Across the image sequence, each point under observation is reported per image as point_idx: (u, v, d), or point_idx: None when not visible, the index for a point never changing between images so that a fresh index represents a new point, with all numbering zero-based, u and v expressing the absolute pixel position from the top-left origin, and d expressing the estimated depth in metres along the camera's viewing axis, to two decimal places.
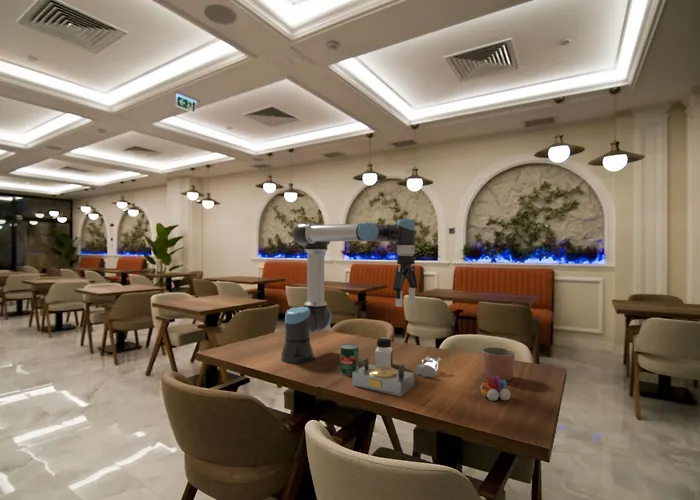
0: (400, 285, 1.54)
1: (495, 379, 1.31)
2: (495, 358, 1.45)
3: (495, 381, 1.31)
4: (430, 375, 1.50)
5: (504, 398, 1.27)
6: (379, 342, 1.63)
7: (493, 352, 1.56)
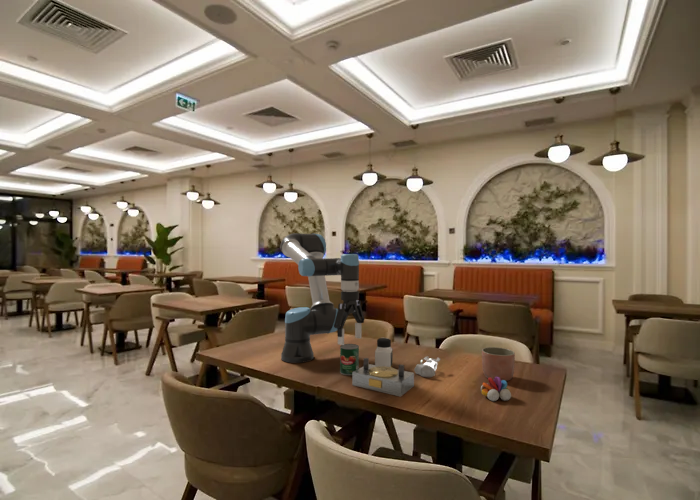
0: (342, 323, 1.50)
1: (495, 379, 1.31)
2: (495, 358, 1.45)
3: (495, 381, 1.31)
4: (429, 375, 1.50)
5: (504, 398, 1.27)
6: (379, 342, 1.63)
7: (493, 352, 1.56)
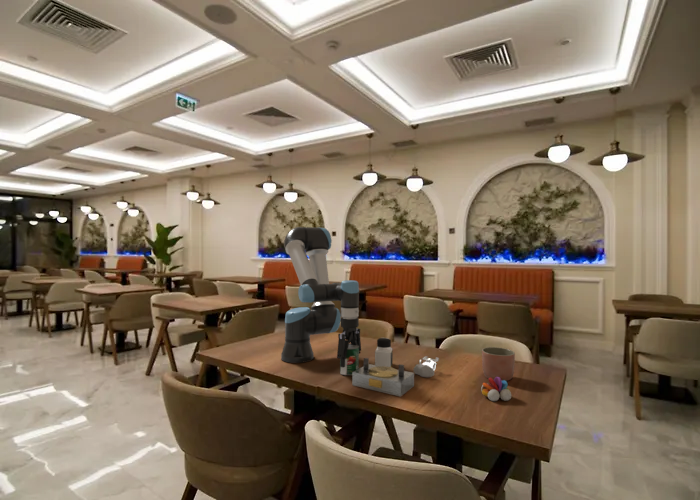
0: (344, 353, 1.51)
1: (496, 379, 1.31)
2: (495, 358, 1.45)
3: (496, 381, 1.31)
4: (428, 375, 1.50)
5: (505, 398, 1.27)
6: (379, 342, 1.63)
7: (493, 352, 1.56)
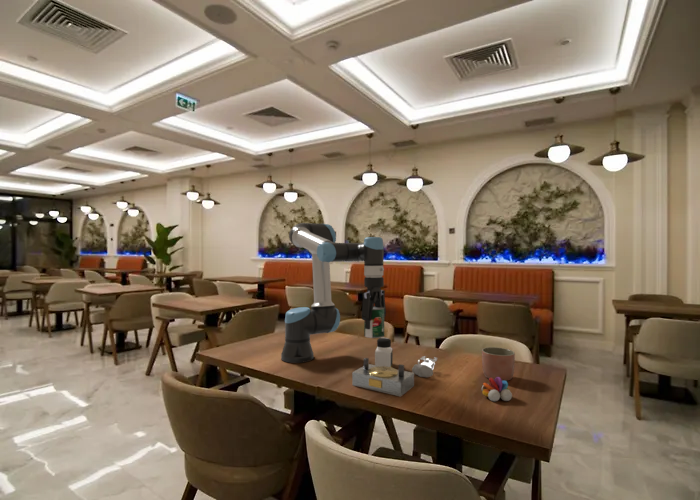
0: (369, 314, 1.40)
1: (496, 379, 1.31)
2: (495, 358, 1.45)
3: (496, 381, 1.30)
4: (427, 375, 1.50)
5: (505, 399, 1.26)
6: (379, 342, 1.63)
7: (493, 352, 1.56)
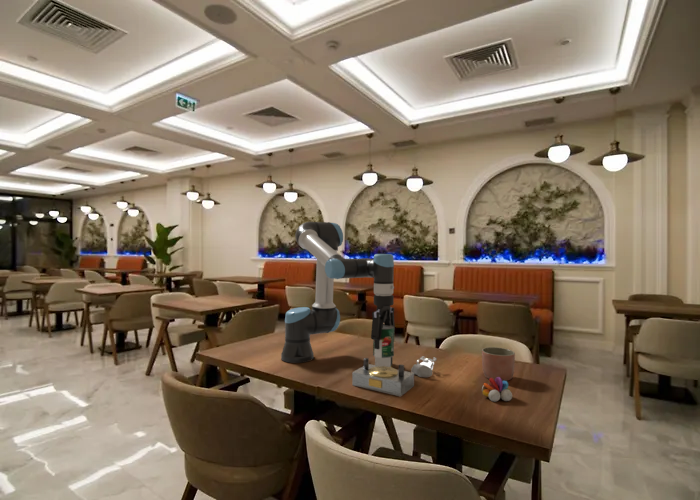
0: (379, 333, 1.36)
1: (497, 380, 1.31)
2: (495, 358, 1.45)
3: (497, 382, 1.30)
4: (426, 375, 1.50)
5: (506, 399, 1.26)
6: None
7: (493, 352, 1.56)
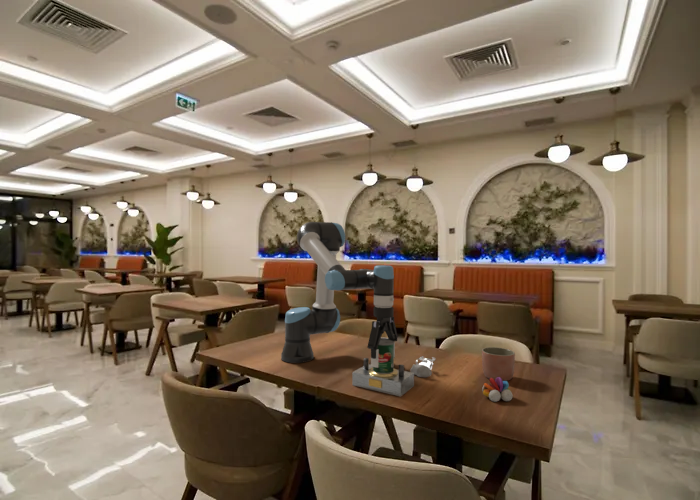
0: (376, 343, 1.34)
1: (497, 380, 1.30)
2: (495, 358, 1.45)
3: (497, 382, 1.30)
4: (426, 375, 1.50)
5: (506, 399, 1.26)
6: None
7: (493, 352, 1.56)
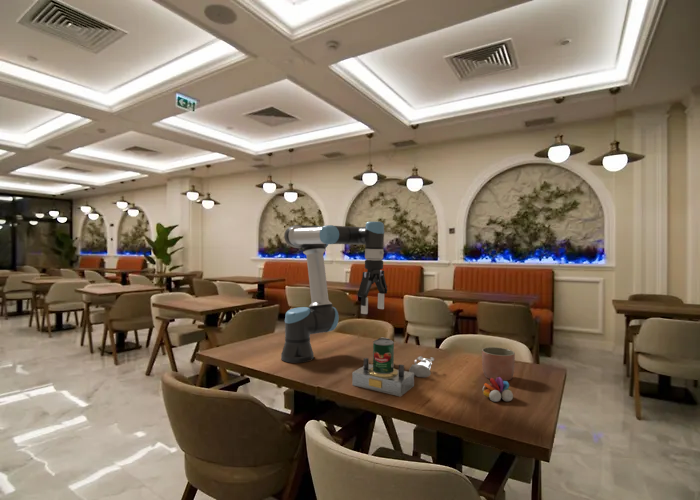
0: (366, 291, 1.46)
1: (497, 380, 1.30)
2: (495, 358, 1.45)
3: (497, 382, 1.30)
4: (425, 375, 1.50)
5: (506, 399, 1.26)
6: None
7: (493, 352, 1.56)
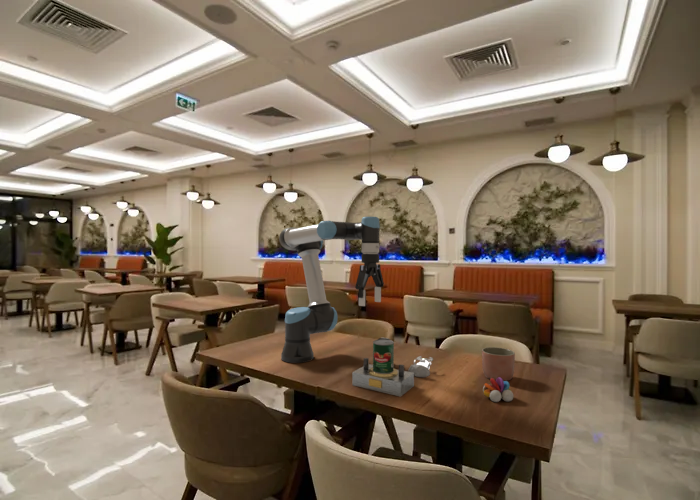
0: (363, 284, 1.50)
1: (498, 380, 1.30)
2: (495, 358, 1.45)
3: (498, 382, 1.30)
4: (424, 375, 1.50)
5: (507, 399, 1.26)
6: None
7: (493, 352, 1.56)
